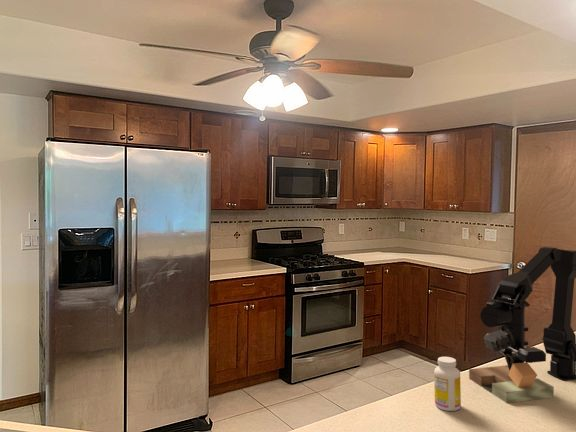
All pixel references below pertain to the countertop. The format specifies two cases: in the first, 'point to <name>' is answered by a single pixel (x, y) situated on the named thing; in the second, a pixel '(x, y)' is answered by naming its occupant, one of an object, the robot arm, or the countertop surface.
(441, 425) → the countertop surface
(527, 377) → the block
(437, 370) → the supplement bottle
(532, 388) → the trap board
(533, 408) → the countertop surface
